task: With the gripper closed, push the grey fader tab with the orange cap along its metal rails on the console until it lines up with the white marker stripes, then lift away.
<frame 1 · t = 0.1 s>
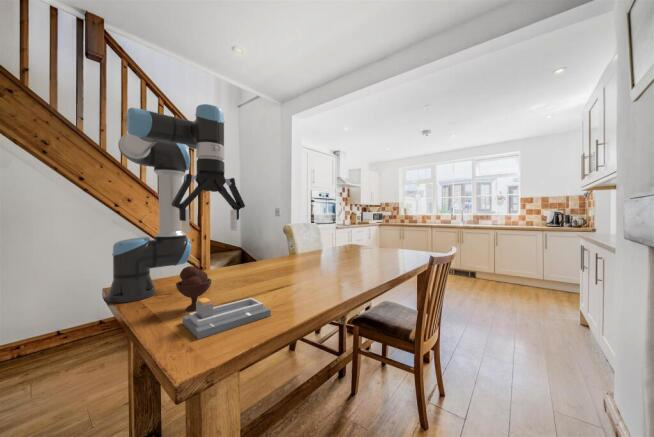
hand: (211, 231, 75), 28 cm above the table, fingers open, 13 cm apart
fader tab: (204, 309, 75), point 5 cm above the table, slide at 0.0 cm
console: (228, 319, 80), on the table
ice cream bowl: (194, 309, 89), on the table
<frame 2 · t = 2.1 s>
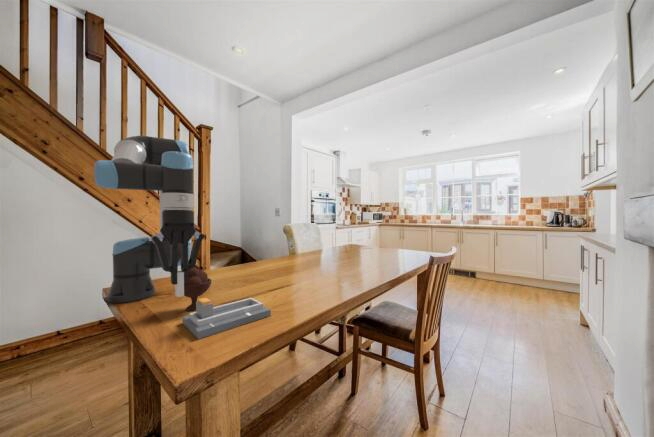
hand: (179, 295, 70), 11 cm above the table, fingers closed
nothing on the table moved.
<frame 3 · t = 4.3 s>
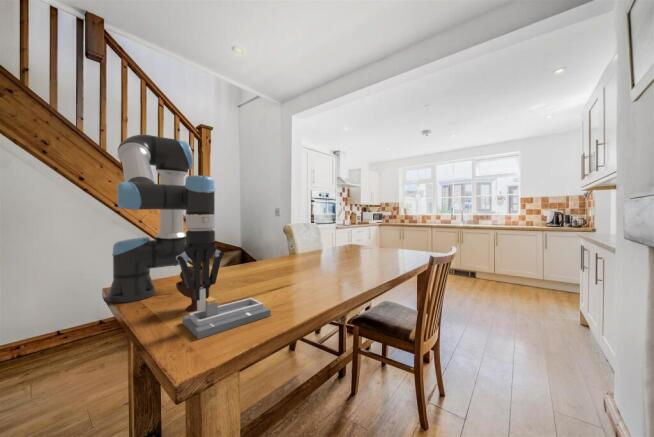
hand: (201, 310, 74), 5 cm above the table, fingers closed
fader tab: (209, 308, 75), point 5 cm above the table, slide at 1.4 cm, touching gripper
everything else where it was.
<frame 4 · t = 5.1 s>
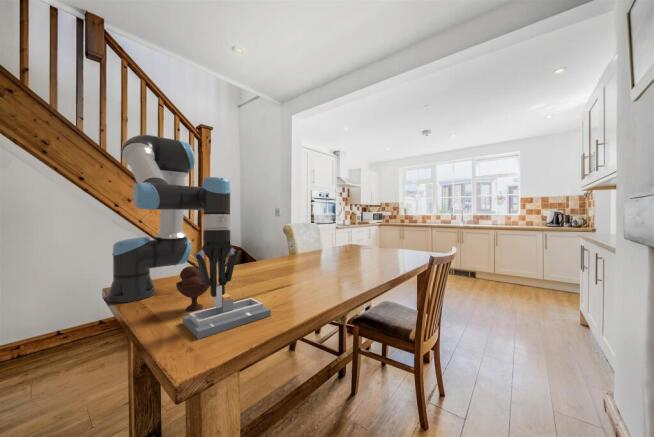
hand: (217, 306, 77), 5 cm above the table, fingers closed
fader tab: (225, 304, 79), point 5 cm above the table, slide at 6.1 cm, touching gripper
everything else where it was.
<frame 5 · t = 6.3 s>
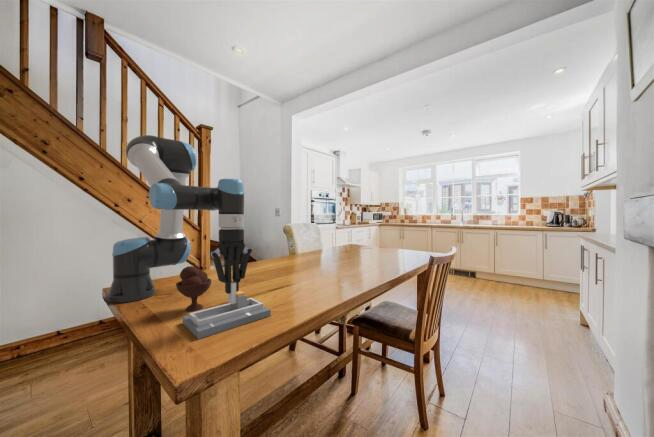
hand: (232, 302, 80), 5 cm above the table, fingers closed
fader tab: (238, 301, 82), point 5 cm above the table, slide at 10.6 cm, touching gripper
everything else where it was.
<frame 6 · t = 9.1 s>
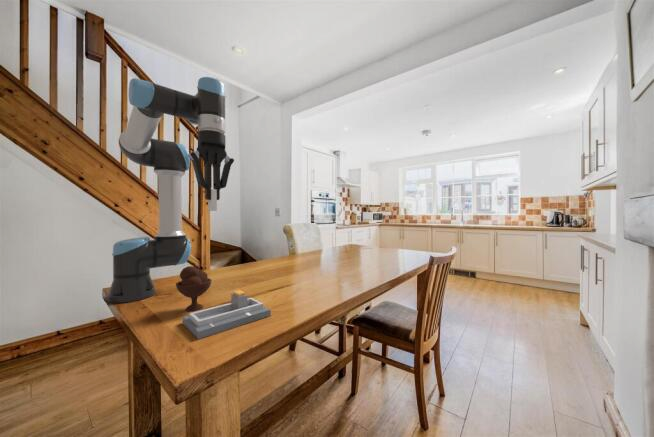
hand: (212, 210, 77), 34 cm above the table, fingers closed
fader tab: (239, 300, 82), point 5 cm above the table, slide at 10.7 cm
everything else where it was.
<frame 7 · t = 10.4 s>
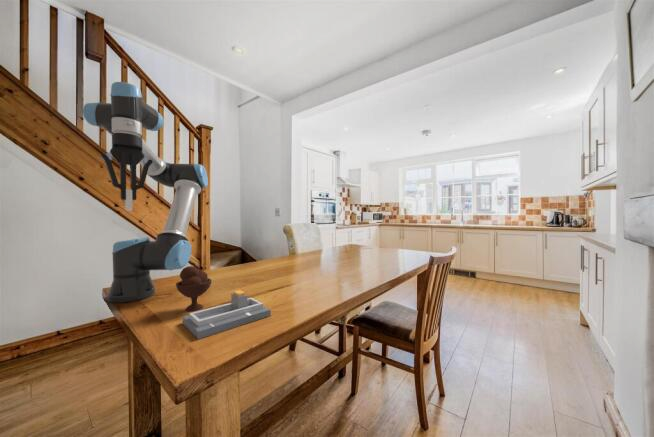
hand: (128, 210, 80), 34 cm above the table, fingers closed
nothing on the table moved.
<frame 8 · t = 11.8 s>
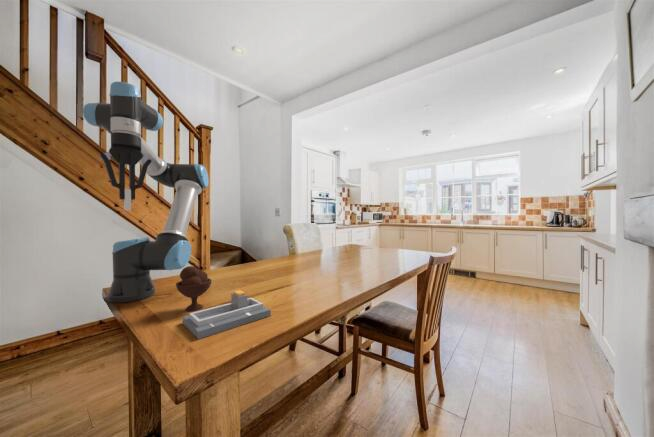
hand: (127, 210, 80), 34 cm above the table, fingers closed
nothing on the table moved.
at the end: fader tab slide at 10.7 cm; the gripper is holding nothing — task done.
